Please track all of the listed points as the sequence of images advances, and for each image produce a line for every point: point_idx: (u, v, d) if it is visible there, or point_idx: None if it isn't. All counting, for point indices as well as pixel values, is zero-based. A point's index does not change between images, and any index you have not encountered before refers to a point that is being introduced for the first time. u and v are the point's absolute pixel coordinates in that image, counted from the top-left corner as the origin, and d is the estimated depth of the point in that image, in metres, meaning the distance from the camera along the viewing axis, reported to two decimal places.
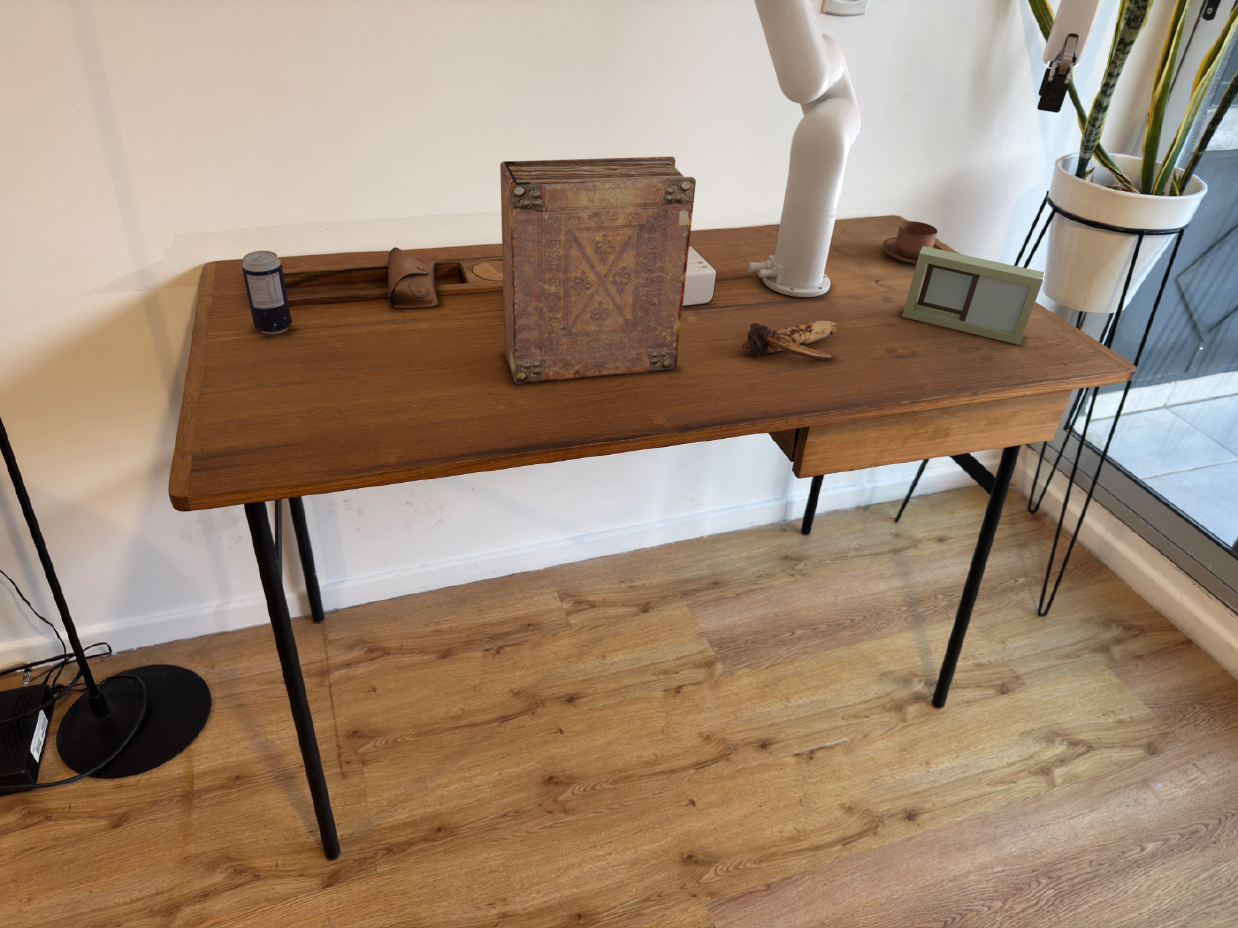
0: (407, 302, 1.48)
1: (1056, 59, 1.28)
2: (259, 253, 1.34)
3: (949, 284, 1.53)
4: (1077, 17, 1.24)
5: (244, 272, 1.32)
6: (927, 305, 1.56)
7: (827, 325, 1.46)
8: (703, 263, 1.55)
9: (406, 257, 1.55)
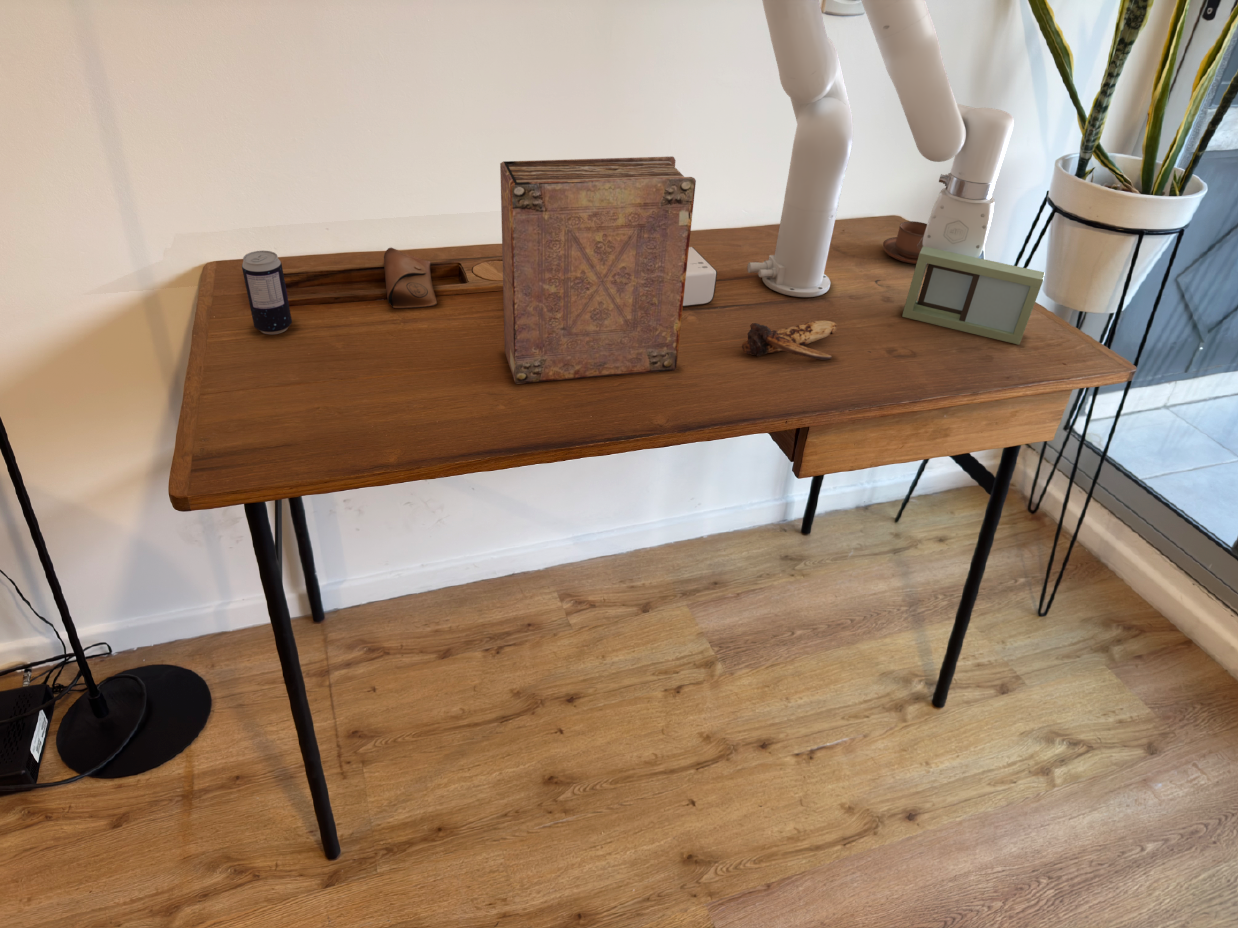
0: (406, 302, 1.48)
1: None
2: (259, 253, 1.34)
3: (949, 284, 1.53)
4: (991, 219, 1.50)
5: (244, 272, 1.32)
6: (927, 305, 1.56)
7: (827, 325, 1.46)
8: (703, 263, 1.55)
9: (402, 257, 1.55)
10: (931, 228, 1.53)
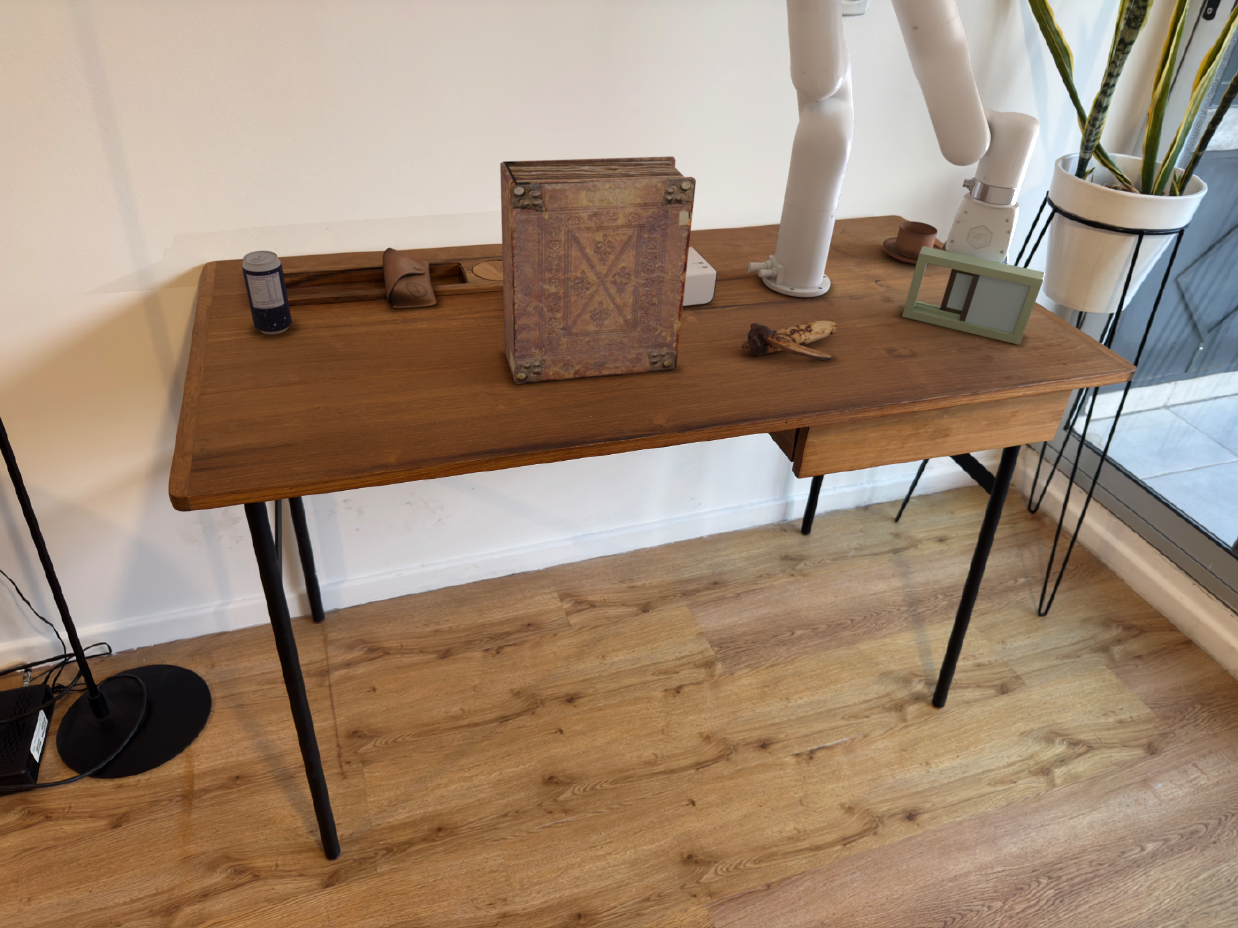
0: (406, 301, 1.48)
1: None
2: (259, 253, 1.34)
3: None
4: None
5: (244, 272, 1.32)
6: (950, 310, 1.55)
7: (827, 325, 1.46)
8: (703, 263, 1.55)
9: (401, 257, 1.55)
10: (954, 233, 1.52)
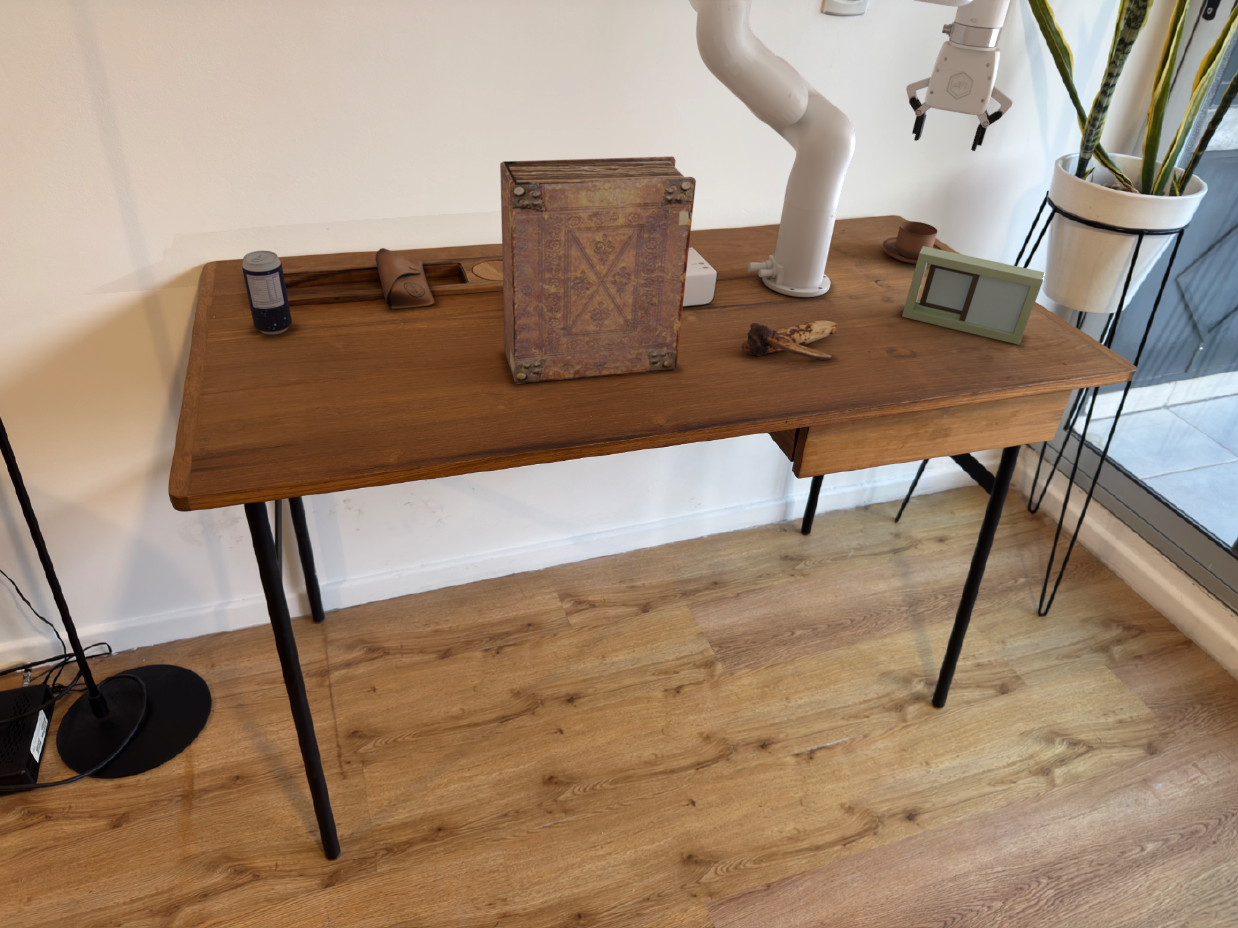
0: (404, 302, 1.48)
1: None
2: (259, 253, 1.34)
3: (951, 284, 1.52)
4: None
5: (244, 272, 1.32)
6: (929, 305, 1.56)
7: (827, 325, 1.46)
8: (704, 264, 1.55)
9: (396, 257, 1.55)
10: (934, 83, 1.46)
